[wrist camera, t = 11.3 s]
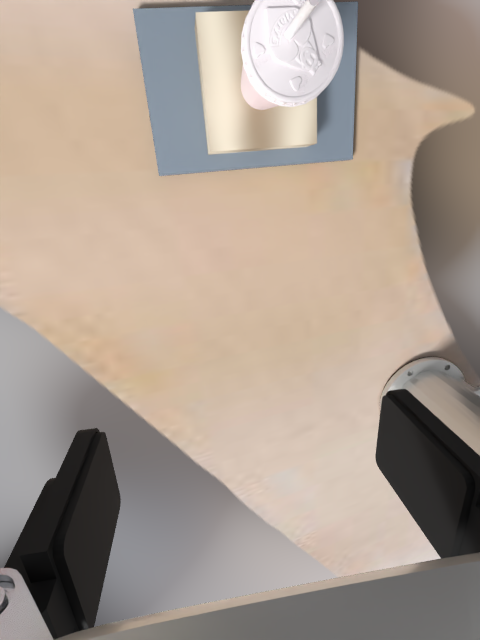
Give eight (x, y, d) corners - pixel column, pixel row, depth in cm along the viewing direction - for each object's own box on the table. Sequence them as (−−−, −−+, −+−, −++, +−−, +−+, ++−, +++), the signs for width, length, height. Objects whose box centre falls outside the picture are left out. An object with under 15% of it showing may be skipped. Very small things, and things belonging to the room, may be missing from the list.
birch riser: (305, 24, 31) (316, 8, 28) (306, 147, 35) (316, 143, 32) (194, 28, 30) (195, 12, 27) (208, 154, 34) (210, 151, 31)
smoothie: (257, 19, 28) (321, -122, 15) (312, 81, 30) (408, 4, 17) (209, 89, 29) (230, 13, 16) (265, 143, 31) (322, 115, 18)
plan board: (353, 6, 32) (358, 1, 31) (348, 160, 37) (352, 159, 36) (134, 14, 30) (132, 8, 29) (159, 176, 35) (159, 175, 34)
